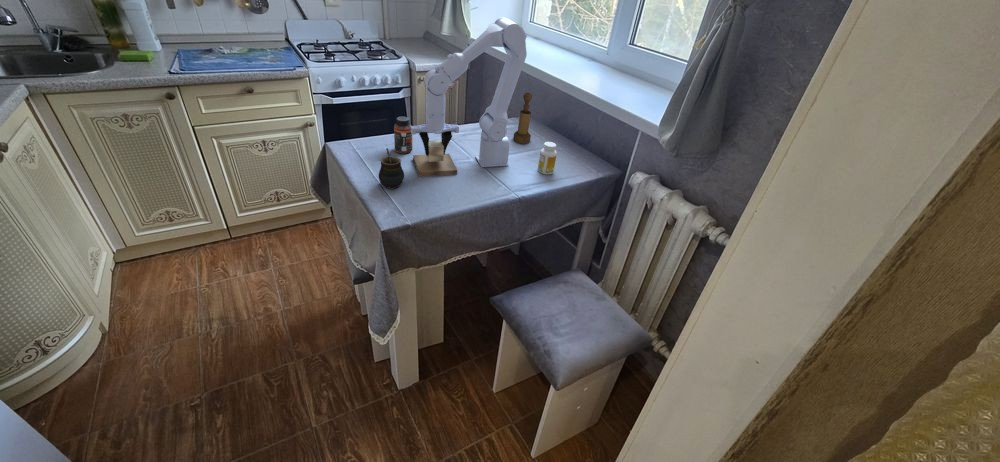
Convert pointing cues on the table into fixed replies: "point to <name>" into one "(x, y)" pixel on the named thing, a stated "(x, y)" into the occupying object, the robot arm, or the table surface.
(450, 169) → the light brown wooden block
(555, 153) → the supplement bottle
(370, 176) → the table surface
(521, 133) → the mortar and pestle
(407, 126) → the supplement bottle
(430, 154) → the maple cube
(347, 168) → the table surface
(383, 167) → the mate gourd
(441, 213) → the table surface
